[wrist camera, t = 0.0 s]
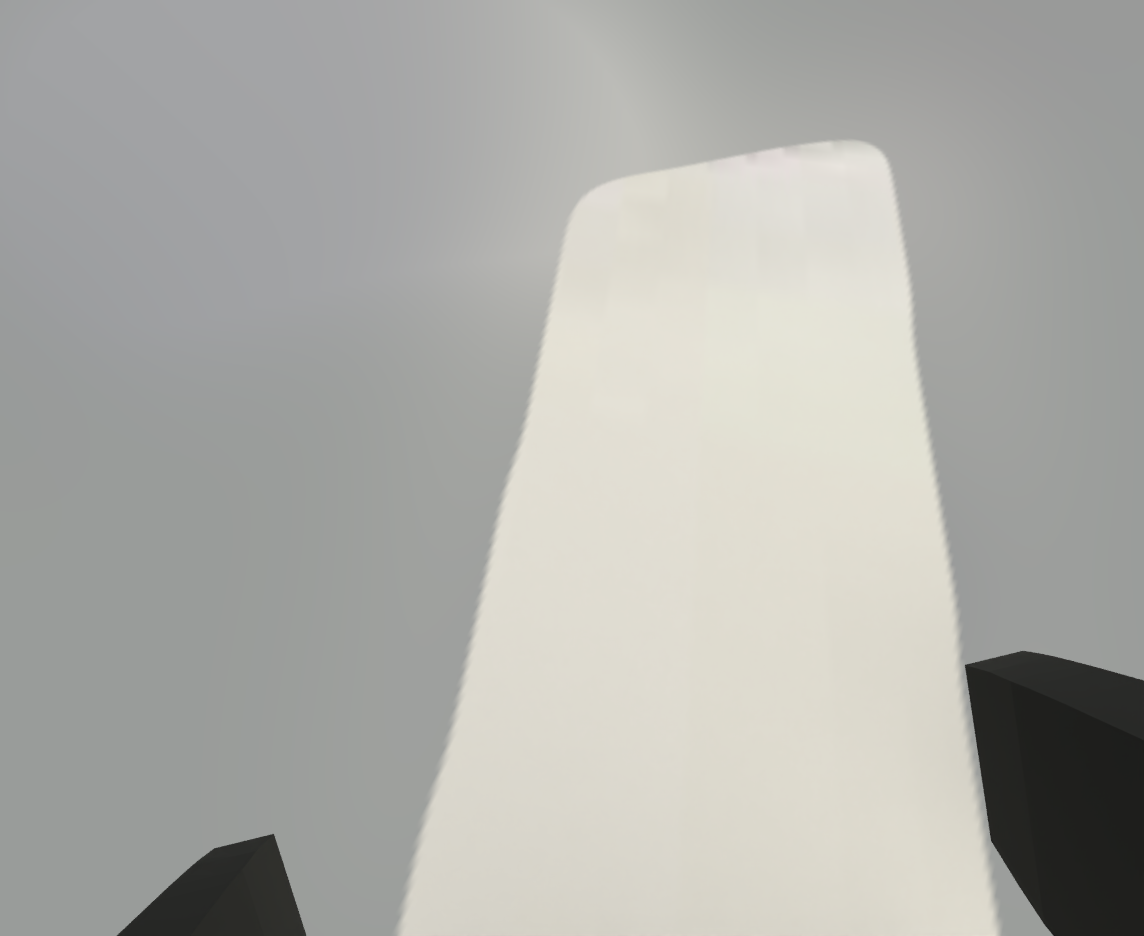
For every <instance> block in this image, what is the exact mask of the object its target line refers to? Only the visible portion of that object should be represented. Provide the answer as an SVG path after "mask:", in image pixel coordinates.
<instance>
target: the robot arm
mask: <svg viewBox="0 0 1144 936" xmlns="http://www.w3.org/2000/svg"><path fill="white" fill-rule="evenodd" d="M965 668H966V675H967V682H968V688H969V695H970V702H971V708H972V715H973V722H974V729H975V734H976V742H977V749H978V755H979V762H980V768H981V776H982V782H983V789H984V796H985V802H986V809H987V816H988V822H989V829H990V836H991V841H992V843H993V844H994V846H995V848H996V849H997V851H998V852H999V854H1000V855H1001V857H1002V859H1003V861H1004V862H1005V864H1006V865H1007V867H1008V869H1009V870H1010V872H1011V873H1012V875H1013V877H1014V878H1015V880H1016V882H1017V883H1018V885H1019V887H1020V888H1021V890H1022V891H1023V893H1024V894H1025V896H1026V897H1027V899H1028V900H1029V902H1030V903H1031V905H1032V906H1033V908H1034V909H1035V911H1036V912H1037V914H1038V915H1039V917H1040V918H1041V920H1042V921H1043V923H1044V924H1045V926H1046V927H1047V928H1048V929H1049V931H1050V932H1051V933H1052V934H1053V935H1054V936H1144V681H1143V680H1140V679H1136V678H1133V677H1129V676H1125V675H1122V674H1118V673H1115V672H1111V671H1107V670H1104V669H1101V668H1097V667H1093V666H1089V665H1086V664H1082V663H1078V662H1074V661H1070V660H1066V659H1062V658H1058V657H1054V656H1049V655H1044V654H1039V653H1033V652H1026V651H1021V652H1017V653H1013V654H1009V655H1004V656H1000V657H996V658H992V659H988V660H984V661H980V662H975V663H972V664H967V665H965ZM117 936H306V933H305V930H304V927H303V924H302V921H301V918H300V914H299V911H298V908H297V905H296V902H295V899H294V896H293V893H292V889H291V886H290V883H289V880H288V877H287V874H286V871H285V868H284V864H283V861H282V858H281V855H280V852H279V849H278V846H277V843H276V840H275V836H274V834H272V835H268V836H263V837H259V838H255V839H251V840H247V841H243V842H239V843H235V844H231V845H227V846H222V847H218V848H214V849H213V850H212V851H210V852H209V853H208V854H206V855H205V856H204V857H202V858H201V859H200V860H199V861H197V862H196V863H195V864H194V865H192V866H191V867H190V868H189V869H188V870H187V871H186V872H185V873H183V874H182V875H181V876H180V877H179V878H178V879H177V880H176V881H175V882H173V883H172V884H171V885H170V886H169V887H168V888H167V889H166V890H165V891H164V892H163V893H162V894H160V895H159V897H157V898H156V899H155V900H154V901H153V902H152V903H151V904H150V905H149V906H148V907H147V908H146V909H145V910H144V911H143V912H142V913H140V914H139V915H138V916H137V917H136V918H135V919H134V920H133V921H132V922H131V923H130V924H129V925H128V926H127V927H126V928H125V929H123V930H122V931H121V932H120V933H119V934H118V935H117Z"/></svg>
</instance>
